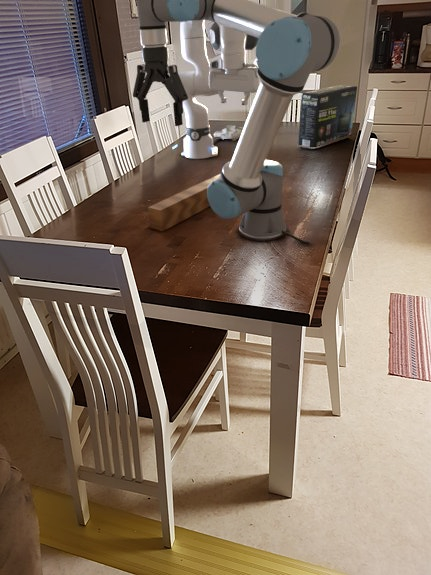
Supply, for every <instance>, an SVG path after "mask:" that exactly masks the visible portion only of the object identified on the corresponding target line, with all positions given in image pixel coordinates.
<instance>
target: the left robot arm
mask: <svg viewBox="0 0 431 575" xmlns="http://www.w3.org/2000/svg"><path fill="white" fill-rule="evenodd" d="M206 21H207V22H210V21H209V20H206ZM179 23H180V24H179V28H180V29H179V37H180V51H181V57H182V58H183V60H184V61H186V62H187V63H189V64H191V65H193V66H194V68H195V70H182V71H178V74H179V77H180V79H181V82H182V84H183V86H184V89H185V91H186V93H187V96H188V99H187V100H185V101H183V112H184V117H185V125H186V126H185V135H186V136H184V138H183V151H182V152H181V153H180V155H181V156H182V157H185V158H188V159H193V160H194V159H195V160H200V159H208V158H211V157H217V156H218V152H219V148H218V146H215V145H214V144H216V143H217V142H218V141H221V140H222V139H221V138H220V139H218V140H217V139H216V140H217V141H215V140H214V137H213V136H212V134H211V125H210V123H209V122H210V120H209V110H208V108H207V107H206V106H205V105H203V104H202V103H200V102H198V101H197V99H196V97H211V96H215V95H218V97H219V98H220V103H221V104H227V97H225V94H224V93H225V91H226V92H236V93H243V96H244V98H243V99H241V106H248V104H249V103H248V102H249V101H248V100H249V98H250V97H251V94H256V92H257V89H258V87H259V84H260V79H259V77H258V75H257V71H258V68H259V67H258V65H257V64H255V63H249V62H248V63H247V51H253V50H254V49H256V45H257V42H258V39H259V38H257V37H254V36H251V35H248V34H245V33H243V32H240V31H237V30H234V29H232V28H229V27H226V26H223V25H221V24H217V23H214V22H213V23H212V25H211V26H210V28H209V44H210V46H211V47H212V48H213V49H214V50H215V51H218V52H220V57H219V58H216V59H214V60H212V61H209V58H208V55H207V54H208V53H207V46H206V31H205V30H206V29H205V20H193V21H186V22H179ZM171 81H172V80H171ZM177 147H178V144H175V145H174V146H172V148H171V149H172V150H174V149H175V148H177Z"/></svg>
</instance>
